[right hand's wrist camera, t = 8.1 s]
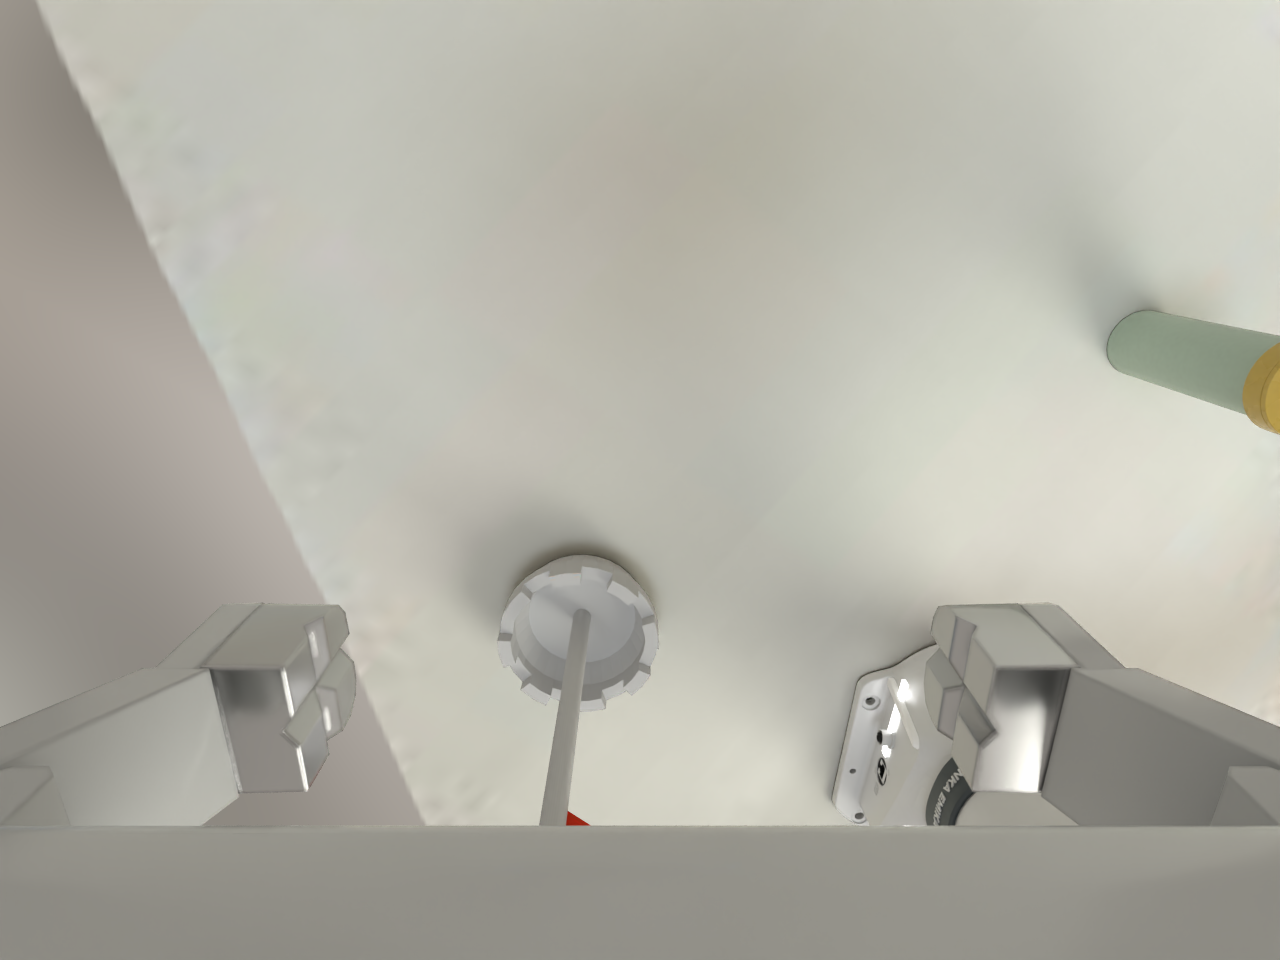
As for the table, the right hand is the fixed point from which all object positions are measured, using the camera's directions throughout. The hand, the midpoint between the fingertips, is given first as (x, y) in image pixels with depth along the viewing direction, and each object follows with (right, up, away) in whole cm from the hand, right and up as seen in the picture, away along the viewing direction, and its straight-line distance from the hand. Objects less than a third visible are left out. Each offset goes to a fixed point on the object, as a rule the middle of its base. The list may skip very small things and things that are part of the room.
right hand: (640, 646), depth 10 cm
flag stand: (-5, -9, +54) cm, 55 cm away
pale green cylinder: (+38, +13, +46) cm, 62 cm away
